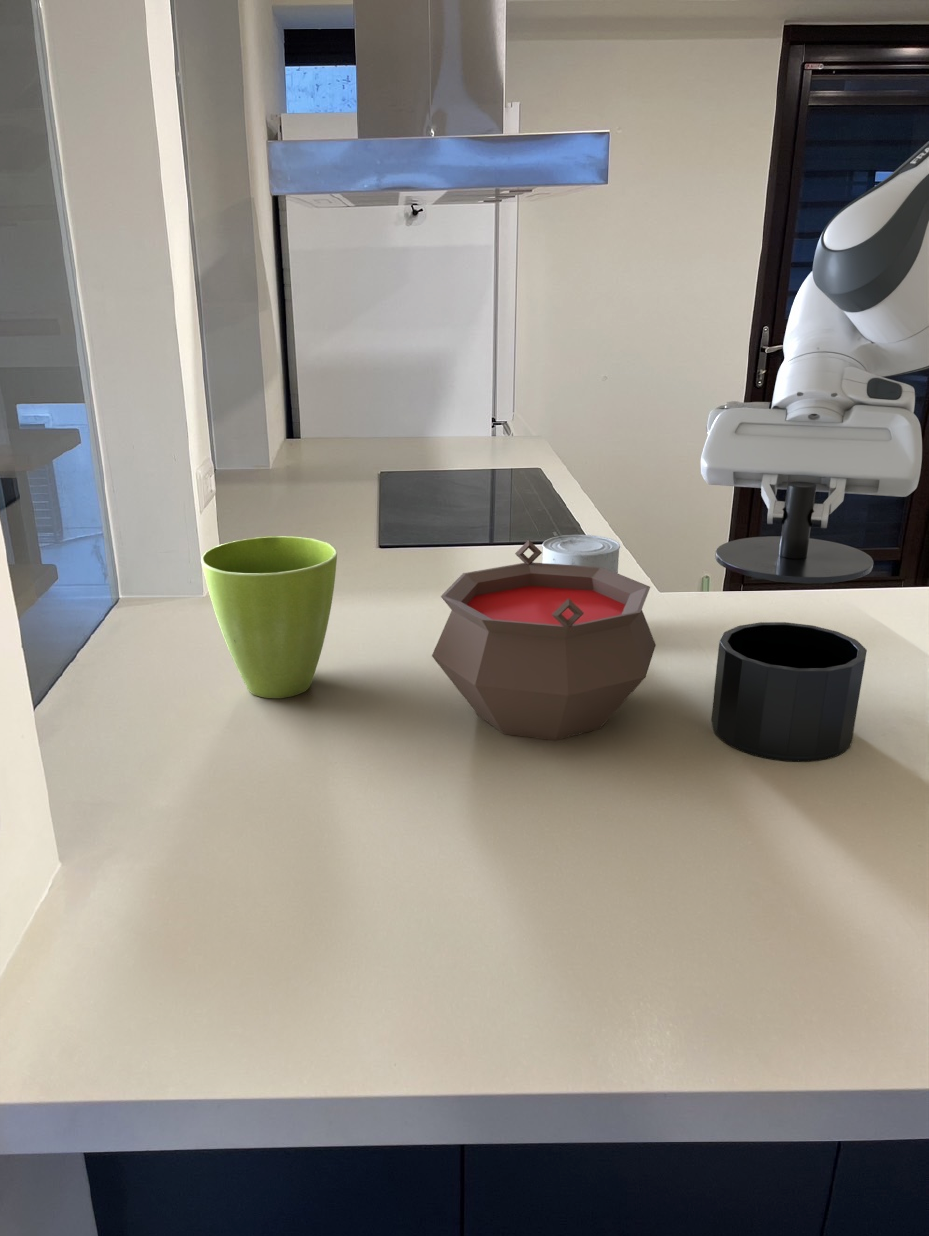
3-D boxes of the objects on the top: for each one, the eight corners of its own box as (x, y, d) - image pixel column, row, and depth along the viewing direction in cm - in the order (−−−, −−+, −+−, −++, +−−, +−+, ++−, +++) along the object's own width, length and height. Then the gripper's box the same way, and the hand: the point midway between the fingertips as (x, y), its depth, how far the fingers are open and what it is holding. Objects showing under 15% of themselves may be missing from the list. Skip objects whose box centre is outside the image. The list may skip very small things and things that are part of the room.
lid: (841, 546, 106) (853, 468, 103) (895, 589, 93) (910, 500, 89) (700, 547, 107) (707, 470, 104) (733, 590, 94) (743, 502, 90)
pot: (826, 704, 110) (838, 621, 106) (872, 762, 97) (888, 670, 94) (699, 704, 111) (707, 622, 107) (729, 761, 98) (739, 671, 94)
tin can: (614, 626, 134) (619, 535, 129) (614, 652, 125) (620, 555, 121) (542, 623, 136) (544, 533, 131) (537, 648, 127) (540, 553, 122)
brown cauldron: (686, 755, 100) (700, 597, 93) (443, 768, 98) (441, 609, 92) (622, 665, 122) (631, 531, 115) (424, 674, 120) (421, 540, 114)
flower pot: (366, 693, 115) (360, 558, 109) (244, 724, 109) (230, 581, 102) (310, 654, 127) (302, 529, 121) (197, 679, 120) (182, 549, 114)
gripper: (710, 381, 103) (685, 497, 99) (933, 387, 95) (916, 513, 91) (713, 420, 108) (689, 531, 104) (924, 428, 101) (907, 548, 96)
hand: (796, 523), depth 97 cm, fingers closed on lid, 2 cm apart
